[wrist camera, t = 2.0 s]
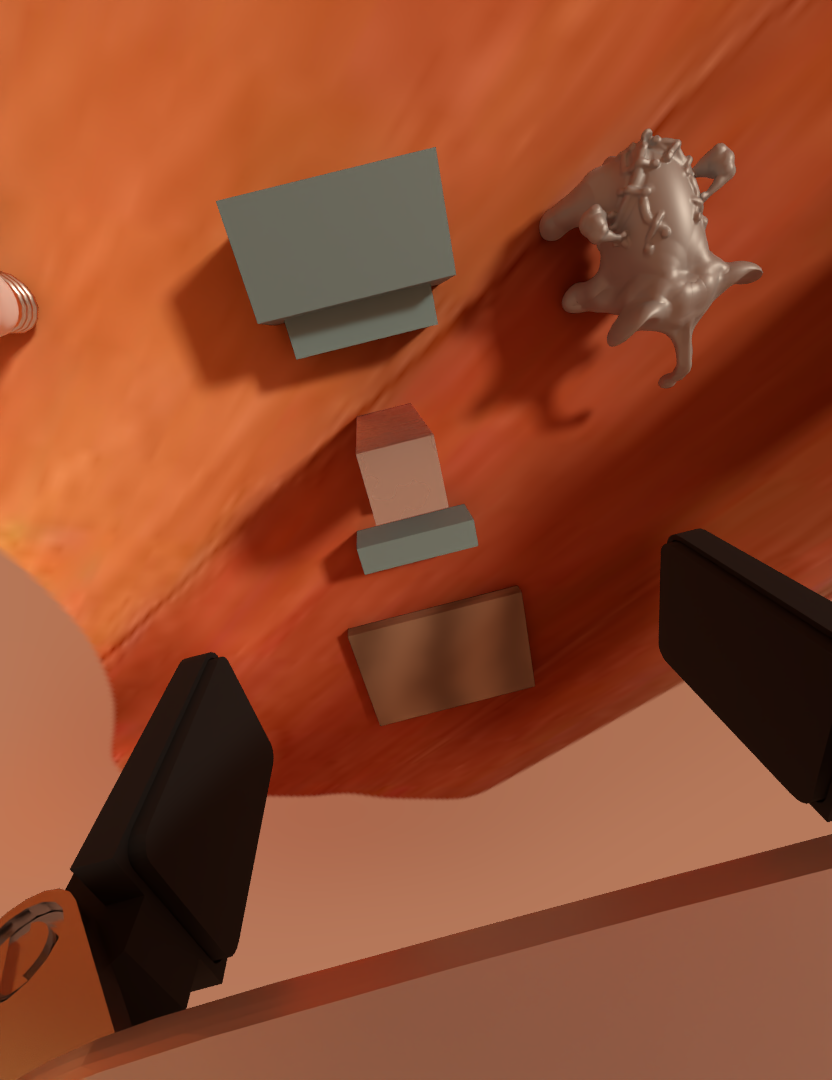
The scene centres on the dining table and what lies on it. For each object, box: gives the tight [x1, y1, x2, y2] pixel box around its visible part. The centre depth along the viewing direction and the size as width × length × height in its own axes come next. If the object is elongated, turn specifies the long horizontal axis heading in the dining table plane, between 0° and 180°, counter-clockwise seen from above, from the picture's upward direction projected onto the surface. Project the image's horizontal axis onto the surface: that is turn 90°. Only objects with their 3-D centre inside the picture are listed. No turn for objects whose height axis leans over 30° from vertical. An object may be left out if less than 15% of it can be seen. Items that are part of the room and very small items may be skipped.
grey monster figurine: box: [539, 129, 763, 388], centre depth 24 cm, size 9×12×8 cm
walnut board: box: [348, 586, 535, 726], centre depth 38 cm, size 14×10×1 cm
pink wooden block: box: [356, 403, 448, 526], centre depth 26 cm, size 4×6×10 cm, turn 13°
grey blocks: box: [216, 147, 478, 575], centre depth 27 cm, size 10×21×5 cm, turn 13°
